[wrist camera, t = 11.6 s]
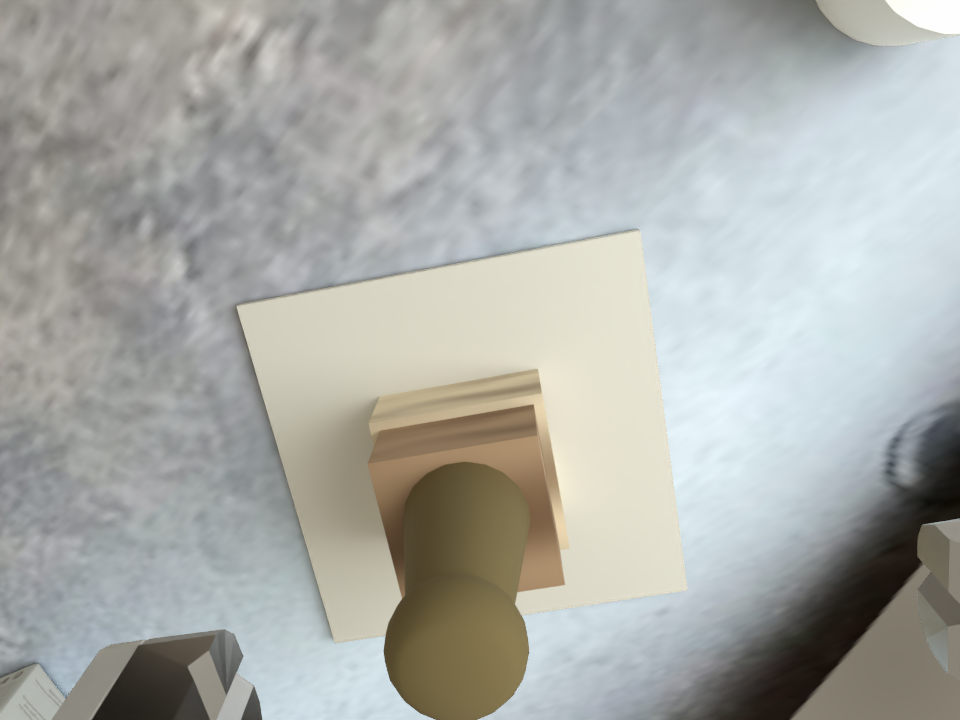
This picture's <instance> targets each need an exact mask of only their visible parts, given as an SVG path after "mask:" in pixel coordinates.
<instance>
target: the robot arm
mask: <svg viewBox="0 0 960 720" xmlns="http://www.w3.org/2000/svg"><path fill="white" fill-rule="evenodd" d="M918 557H919V559H920V560H921V561H922V562H923V563H924V564H925V566H926V567H927V568H928V569H929V570H930V571H931V572H930V574H929V575H928V576H927V578H926V579H925V580H924V581H923V583H922V584H921V585H920V587H919V588H918V610H919V617H920V620H921V624H922V628H923V631H924V635H925V638H926V640H927V642H928V644H929V646H930V648H931V650H932V652H933V654H934V656H935V657H936V659H937V660H938V662H939V663H940V664H941V665H942V667H943V668H944V670H945V671H946V672H947V674H949V675H951V676H953V677H955V678H956V679H958V680H960V519H956V520H949V521H943V522H937V523H931V524H925V525H922V527H921V530H920V532H919V535H918ZM242 658H243V654H242V652H241V650H240V647H239V645H238V642H237V640H236V637H235V635H234V634H233V633H231V632H229V631H227V630H225V629H224V630H216V631H208V632H200V633H192V634H185V635H177V636H169V637H161V638H153V639H149V640H139V641H133V642H126V643H119V644H113V645H110V646H107V647H105V648H103V649H101V650H99V652H98V653H97V655H96V656H95V658H94V659H93V660H92V662H91V663H90V665H89V666H88V668H87V669H86V670H85V672H84V673H83V675H82V676H81V678H80V679H79V681H78V682H77V683H76V685H75V686H74V688H73V689H72V691H71V692H70V693H69V695H68V696H67V698H66V699H65V701H64V702H63V704H62V705H61V706H60V708H59V709H58V711H57V712H56V714H55V715H54V716H53V718H52V719H51V720H262V715H261V708H260V702H259V699H258V696H257V693H256V690H255V687H254V685H252V684H251V683H250V682H248V681H247V680H246V679H244V678H243V677H242V676H240V675H239V674H238V673H236V672H237V670H238V668H239V665H240V663H241V660H242Z"/></svg>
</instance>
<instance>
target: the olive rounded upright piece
mask: <svg viewBox="0 0 960 720" xmlns="http://www.w3.org/2000/svg"><path fill="white" fill-rule="evenodd" d="M530 520H531V519H530V514H529V508H528V502H527V500H526V498H525V497H524V495H523V493H522V491H521V490H520V488H519V486H518V485H517V484H516V483H515V482H514V481H512V480H511V479H510V478H509V477H508V476H507V475H506V474H505V473H503V472H501V471H499V470H497V469H495V468H492V467H490V466H488V465H486V464H479V463H472V462H459V463H453V464H446V465H443V466H441V467H439V468H437V469H435V470H433V471H431V472H429V473H427V474H426V475H425V476H424V477H423V478H422V479H421V480H420V481H419V482H418V483H417V484H416V485H415V486H414V487H413V489H412V491H411V493H410V494H409V496H408V498H407V500H406V502H405V510H404V518H403V533H404V578H405V596H404V597H403V598H402V600H401V601H400V603H399V604H398V605H397V607H396V609H395V611H394V613H393V615H392V617H391V619H390V621H389V622H388V627H387V631H386V637H385V645H384V657H385V663H386V667H387V671H388V675H389V679H390V681H391V682H392V684H393V685H394V687H395V688H396V690H397V691H398V693H399V694H400V696H401V697H402V698H403V699H404V701H405V702H406V703H408V704H409V705H410V706H411V707H413V708H414V709H415V710H416V711H418V712H419V713H421V714H423V715H426V716H428V717H431V718H433V719H436V720H477V719H480V718H482V717H484V716H487V715H489V714H492V713H493V712H495V711H496V710H497V709H498V708H499V707H501V706H502V705H503V704H504V703H505V702H507V701H508V700H509V699H510V698H511V697H512V696H513V695H514V693H515V691H516V690H517V688H518V686H519V685H520V683H521V681H522V680H523V677H524V674H525V670H526V665H527V660H528V654H529V645H528V637H527V632H526V627H525V622H524V620H523V618H522V616H521V614H520V612H519V610H518V609H517V607H516V605H515V602H516V597H517V591H518V586H519V580H520V575H521V569H522V564H523V559H524V553H525V548H526V542H527V537H528V531H529V525H530Z"/></svg>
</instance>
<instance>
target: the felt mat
mask: <svg viewBox="0 0 960 720" xmlns="http://www.w3.org/2000/svg"><path fill="white" fill-rule="evenodd" d="M236 307H237V310H238V314H239V317H240V320H241V324H242V327H243V331H244V334H245V337H246V341H247V344H248V348H249V351H250V355H251V358H252V361H253V365H254V368H255V372H256V375H257V378H258V382H259V385H260V389H261V392H262V396H263V399H264V402H265V406H266V409H267V413H268V416H269V420H270V423H271V426H272V430H273V433H274V437H275V440H276V443H277V447H278V450H279V454H280V457H281V461H282V464H283V467H284V471H285V474H286V478H287V481H288V484H289V488H290V491H291V495H292V498H293V502H294V505H295V508H296V512H297V515H298V519H299V522H300V526H301V529H302V532H303V536H304V539H305V543H306V546H307V549H308V553H309V556H310V560H311V563H312V567H313V570H314V573H315V577H316V580H317V584H318V587H319V590H320V594H321V597H322V601H323V604H324V608H325V611H326V614H327V618H328V621H329V625H330V628H331V632H332V635H333V638H334V642H335V643H340V642H347V641H353V640H360V639H367V638H373V637H380V636H386V631H387V627H388V622H389V621H390V619H391V617H392V615H393V613H394V611H395V609H396V607H397V605H398V604H399V603H400V601H401V600H402V597H401V593H400V589H399V585H398V581H397V577H396V573H395V569H394V565H393V562H392V558H391V554H390V550H389V546H388V542H387V538H386V534H385V530H384V527H383V523H382V519H381V515H380V511H379V507H378V503H377V499H376V495H375V492H374V488H373V484H372V480H371V476H370V472H369V468H368V461H369V458H370V456H371V453H372V450H373V448H374V444H373V440H372V436H371V432H370V428H369V424H368V423H369V421H370V418H371V416H372V413H373V411H374V409H375V406H376V404H377V402H378V399H379V397H380V396H386V395H391V394H397V393H403V392H409V391H414V390H420V389H426V388H431V387H437V386H443V385H449V384H454V383H460V382H466V381H471V380H477V379H483V378H488V377H494V376H500V375H506V374H511V373H517V372H523V371H528V370H534V369H538V371H539V377H540V383H541V388H542V394H543V399H544V405H545V410H546V416H547V422H548V427H549V433H550V438H551V444H552V449H553V455H554V461H555V466H556V472H557V477H558V483H559V488H560V494H561V500H562V505H563V511H564V517H565V523H566V529H567V535H568V541H569V547H570V549H565V550H560V553H561V560H562V567H563V574H564V581H565V585H562V586H555V587H549V588H542V589H536V590H529V591H523V592H517V597H516V602H515V605H516V607H517V609H518V610H519V612H520V614H521V615H527V614H533V613H540V612H547V611H553V610H560V609H567V608H573V607H580V606H586V605H593V604H600V603H606V602H613V601H620V600H626V599H633V598H640V597H646V596H653V595H660V594H666V593H673V592H680V591H686V590H687V583H686V575H685V567H684V560H683V552H682V545H681V537H680V529H679V522H678V514H677V507H676V499H675V491H674V484H673V476H672V469H671V461H670V453H669V446H668V438H667V431H666V423H665V415H664V408H663V400H662V393H661V385H660V377H659V370H658V362H657V355H656V347H655V339H654V332H653V324H652V317H651V309H650V301H649V294H648V286H647V279H646V271H645V263H644V256H643V248H642V241H641V233H640V230H639V229H636V230H631V231H626V232H620V233H615V234H610V235H604V236H599V237H594V238H588V239H583V240H578V241H572V242H567V243H562V244H556V245H551V246H546V247H540V248H535V249H530V250H524V251H519V252H514V253H508V254H503V255H498V256H492V257H487V258H482V259H476V260H471V261H466V262H460V263H455V264H450V265H444V266H439V267H434V268H428V269H423V270H418V271H412V272H407V273H402V274H396V275H391V276H386V277H380V278H375V279H370V280H364V281H359V282H354V283H348V284H343V285H338V286H332V287H327V288H322V289H316V290H311V291H306V292H300V293H295V294H290V295H284V296H279V297H274V298H268V299H263V300H258V301H252V302H247V303H242V304H239V305H238V306H236Z"/></svg>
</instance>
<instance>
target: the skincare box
mask: <svg viewBox="0 0 960 720" xmlns="http://www.w3.org/2000/svg"><path fill="white" fill-rule="evenodd" d="M65 699H66V698H65V697H64V696H63V695H62V693H61V692H60V691H59V690H58V688H57V687H56V686H55V684H54V683H53V682H52V681H51V680H50V678H49V677H48V676H47V674H46V673H45V672H44V670H43V669H42V668H41V666H40V665H39V664H38V663H35V664H33V665H30V666H28V667H25V668H23V669H21V670H19V671H16V672H14V673H11V674H9V675H6V676H4V677H1V678H0V720H51V719H52V718H53V716H54V715H55V714H56V712H57V711H58V709H59V708H60V706H61V705H62V704H63V702H64V701H65Z"/></svg>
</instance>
